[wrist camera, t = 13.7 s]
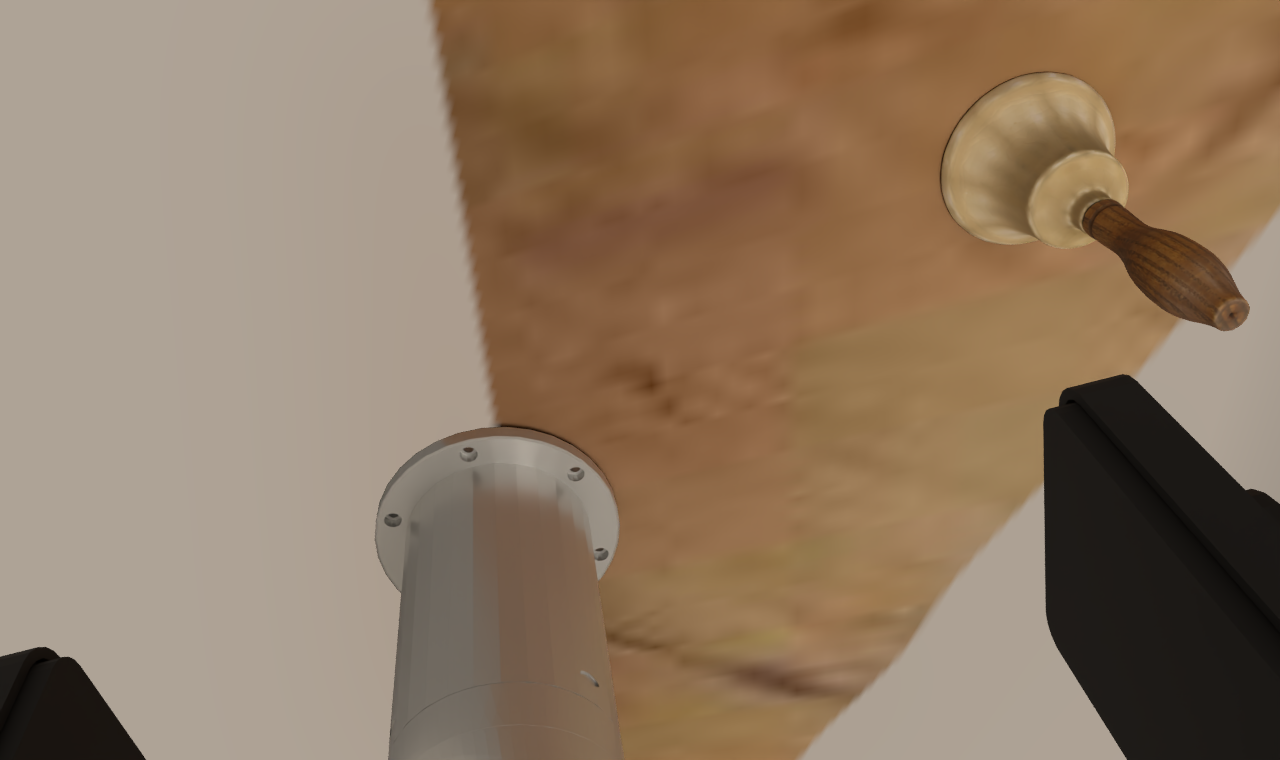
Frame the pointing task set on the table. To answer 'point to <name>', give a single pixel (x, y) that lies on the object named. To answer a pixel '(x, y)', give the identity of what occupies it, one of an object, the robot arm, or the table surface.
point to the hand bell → (1072, 193)
